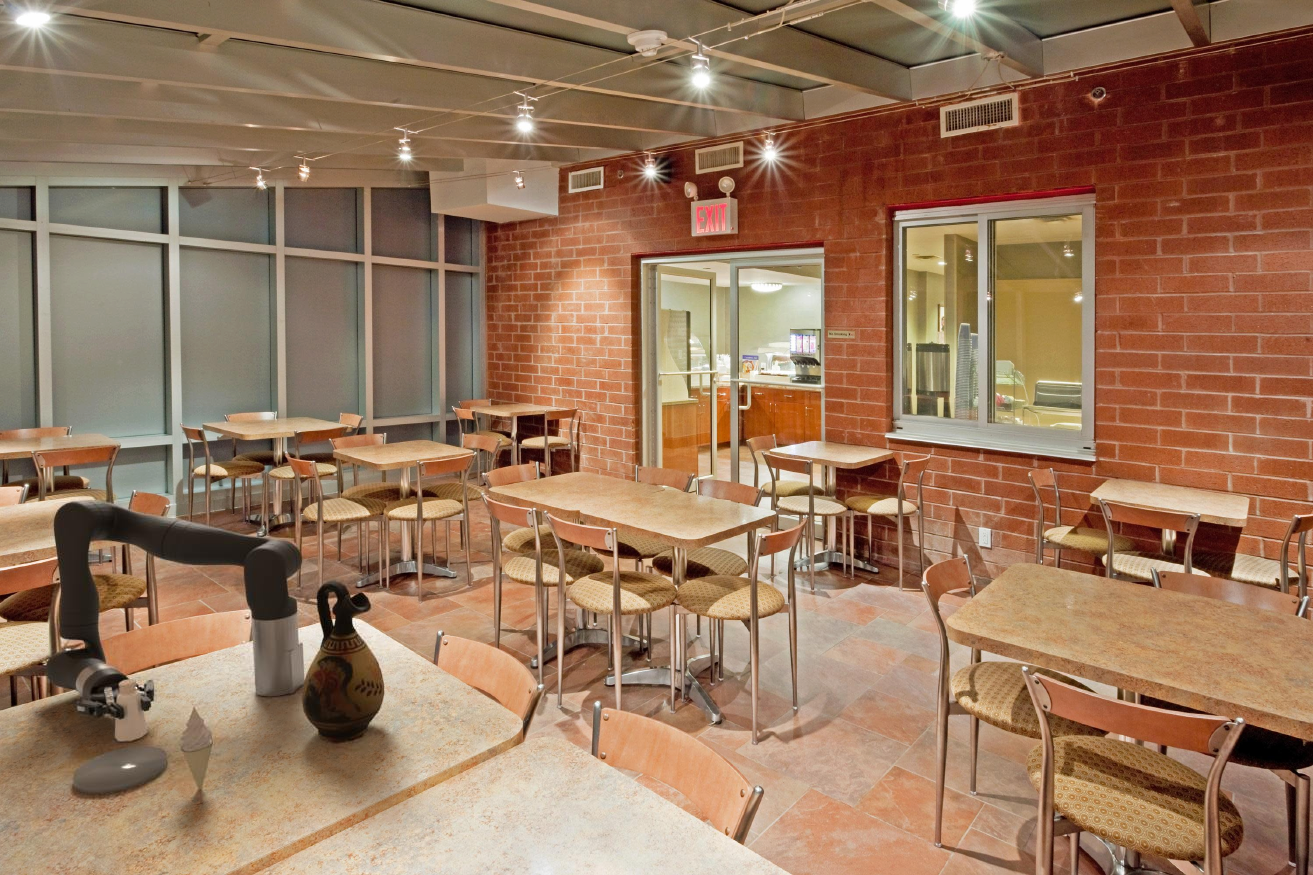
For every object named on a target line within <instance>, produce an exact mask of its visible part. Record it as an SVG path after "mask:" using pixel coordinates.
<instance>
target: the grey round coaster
mask: <svg viewBox="0 0 1313 875" xmlns="http://www.w3.org/2000/svg"><path fill="white" fill-rule="evenodd" d="M167 766H168V754H167V751H166V750H165V749H163V748H161V747H159V746H156V745H155V746H153V745H138V746H137V745H134V746H127V747H123V748H119V749H114V750H111V751H109V752H105V753H102V754H100V755H97V756H95V757H94V758H91V759H89V760H87V761H86V762H85V763H83V764H82V765H80V766H79V767H78V768H77V769H76V770H75V771H74V773H73V776H72V779H73V787H74V789H75V791H77V792H78V791H79V792H78V793H81V794H84V795H92V794H99V795H105V794H104V793H109V794H112V793H111V792H115V793H119V792H118V791H120V792H123V791H122V790H124V791H127V790H130V789H129V788H131V789H133V788H136V787H138V786H141V785H143V784H142V783H144V784H145V783H147V782H150V781H151V780H153V779H154V778H157V777H158V776H159V775H161V774H162V773H163V772H164V771H165V770H166V768H167ZM140 784H141V785H140ZM132 787H133V788H132ZM126 789H127V790H126ZM102 793H103V794H102Z"/></svg>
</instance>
